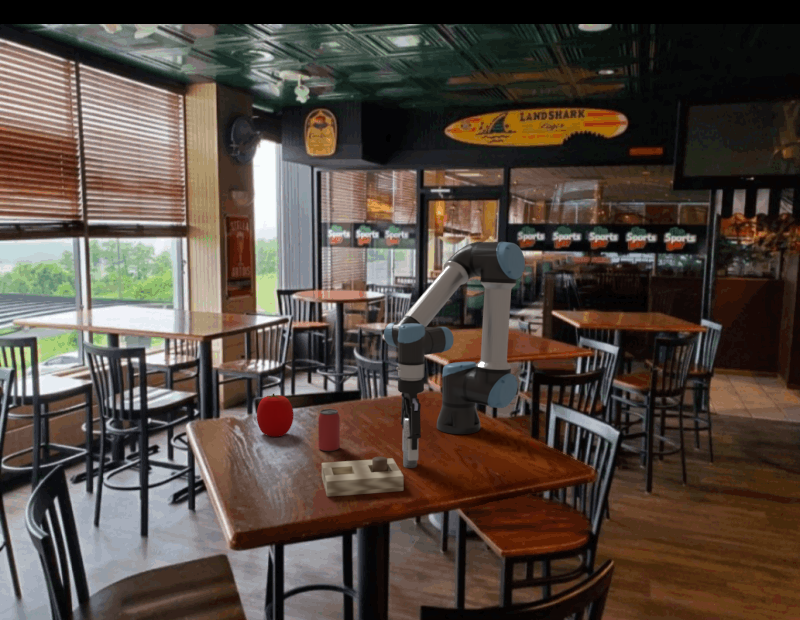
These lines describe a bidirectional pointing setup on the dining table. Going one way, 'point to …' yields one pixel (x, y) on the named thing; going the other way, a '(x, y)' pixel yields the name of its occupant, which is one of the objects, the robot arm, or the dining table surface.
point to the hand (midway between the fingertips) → (410, 455)
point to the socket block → (361, 477)
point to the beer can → (329, 430)
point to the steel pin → (407, 446)
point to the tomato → (274, 415)
